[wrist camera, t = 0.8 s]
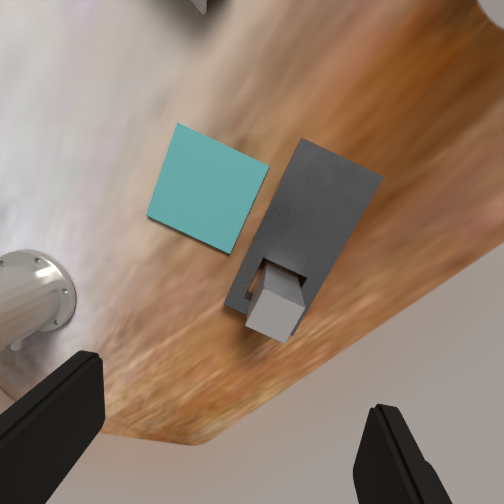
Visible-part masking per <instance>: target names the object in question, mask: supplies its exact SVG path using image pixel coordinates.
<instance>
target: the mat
mask: <svg viewBox="0 0 504 504" xmlns="http://www.w3.org/2000/svg"><path fill="white" fill-rule="evenodd" d="M268 169H269V166H268V165H266V164H263V163H261V162H259V161H257V160H255V159H253V158H251V157H249V156H247V155H244V154H242V153H240V152H238V151H236V150H234V149H232V148H230V147H228V146H226V145H223V144H221V143H219V142H217V141H215V140H213V139H211V138H209V137H207V136H204V135H202V134H200V133H198V132H196V131H194V130H192V129H190V128H188V127H185V126H183V125H181V124H179V123H177V125H176V128H175V131H174V134H173V137H172V140H171V143H170V146H169V149H168V152H167V155H166V158H165V161H164V164H163V167H162V170H161V172H160V175H159V178H158V181H157V184H156V187H155V190H154V193H153V196H152V199H151V202H150V205H149V208H148V211H147V214H146V215H147V216H149V217H151V218H153V219H156V220H158V221H160V222H162V223H164V224H166V225H169V226H171V227H173V228H175V229H177V230H179V231H181V232H184V233H186V234H188V235H190V236H192V237H194V238H197V239H199V240H201V241H203V242H205V243H207V244H210V245H212V246H214V247H216V248H218V249H220V250H222V251H225V252H227V253H229V254H230V253H231V251H232V249H233V247H234V244H235V242H236V240H237V238H238V235H239V233H240V231H241V229H242V227H243V224H244V222H245V220H246V218H247V215H248V213H249V211H250V209H251V206H252V204H253V202H254V200H255V198H256V195H257V193H258V191H259V189H260V186H261V184H262V182H263V180H264V178H265V175H266V173H267V171H268Z"/></svg>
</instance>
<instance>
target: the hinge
mask: <svg viewBox="0 0 504 504" xmlns="http://www.w3.org/2000/svg"><path fill="white" fill-rule="evenodd" d="M191 1H192V3H193V4H194V5H195V6H196V8H197V9H198V10H199V11H200V13H201V14H202V15H204V14H206V13H207V0H191Z"/></svg>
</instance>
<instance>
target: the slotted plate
mask: <svg viewBox="0 0 504 504" xmlns="http://www.w3.org/2000/svg"><path fill="white" fill-rule="evenodd" d="M383 178H384V177H383V176H381V175H379V174H376V173H374V172H372V171H370V170H368V169H366V168H364V167H362V166H360V165H358V164H356V163H354V162H351V161H349V160H347V159H345V158H343V157H341V156H339V155H337V154H335V153H333V152H331V151H328V150H326V149H324V148H322V147H320V146H318V145H316V144H314V143H312V142H310V141H308V140H306V139H303V138H301V139H300V141H299V143H298V145H297V148H296V150H295V152H294V154H293V156H292V158H291V160H290V163H289V165H288V167H287V169H286V171H285V173H284V175H283V177H282V180H281V182H280V184H279V186H278V188H277V190H276V192H275V195H274V197H273V199H272V201H271V203H270V205H269V207H268V210H267V212H266V214H265V216H264V218H263V220H262V222H261V225H260V227H259V229H258V231H257V233H256V235H255V237H254V239H253V242H252V244H251V246H250V248H249V250H248V252H247V254H246V257H245V259H244V261H243V263H242V265H241V267H240V269H239V272H238V274H237V276H236V278H235V280H234V282H233V284H232V286H231V289H230V291H229V293H228V295H227V297H226V299H225V302H224V305H226V306H228V307H230V308H233V309H235V310H237V311H239V312H241V313H244V314H246V315H248V310H249V306H250V301H251V297H252V293H250V292H248V291H247V290H248V288H249V286H250V284H251V282H252V280H253V278H254V275H255V273H256V271H257V269H258V267H259V265H260V263H261V261H262V259H263V257H264V258H266V259H268V260H270V261H272V262H274V263H276V264H279V265H281V266H283V267H285V268H287V269H289V270H292V271H294V272H296V273H298V274H300V275H302V276H303V277H302V278H301V280H300V282H299V284H300V288H301V292H302V296H303V300H304V305H305V309H304V311H303V313H302V315H301V316H300V318H299V320H298V322H297V323H296V325H295V327H294V329H293V330H292V332H291V334H290V335H292V336H293V335H294V333H295V331H296V329H297V328H298V326H299V324H300V322H301V321H302V319H303V317H304V315H305V314H306V312H307V310H308V308H309V307H310V305H311V303H312V301H313V300H314V298H315V296H316V295H317V293H318V291H319V289H320V288H321V286H322V284H323V282H324V281H325V279H326V277H327V275H328V274H329V272H330V270H331V268H332V267H333V265H334V263H335V261H336V260H337V258H338V256H339V254H340V253H341V251H342V249H343V247H344V246H345V244H346V242H347V240H348V239H349V237H350V235H351V234H352V232H353V230H354V228H355V227H356V225H357V223H358V221H359V220H360V218H361V216H362V214H363V213H364V211H365V209H366V207H367V206H368V204H369V202H370V200H371V199H372V197H373V195H374V193H375V192H376V190H377V188H378V186H379V185H380V183H381V181H382V180H383Z"/></svg>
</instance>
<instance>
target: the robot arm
mask: <svg viewBox="0 0 504 504" xmlns="http://www.w3.org/2000/svg"><path fill="white" fill-rule="evenodd" d="M75 303H76V296H75V290H74V287H73V284H72V281H71V279H70V278H69V276H68V274H67V273H66V272H65V270H64V269H63V268H62V267H61V266H60V265H59V264H58V263H57V262H56V261H55V260H53V259H52V258H50V257H49V256H47V255H45V254H43V253H40V252H37V251H32V250H18V251H14V252H10V253H8V254H5V255H3V256H2V257H0V351H3V350H5V349H6V348H7V347H8V345H9V344H11V346H10V349H11V350H12V351H18V350H21V349H22V347H23V343H24V338H26V337H27V336H29V335H31V334H32V333H34V332H48V331H52V330H54V329H56V328H58V327H60V326H61V325H63V324H64V323H66V322H67V321H68V320H69V319H70V317H71V315H72V314H73V312H74V308H75ZM104 421H105V402H104V381H103V361H102V359H101V358H99V355H98V353H94V352H88V351H83V350H82V351H79V352H77V353H76V354H74V355H73V356H72V357H71V358H69V359H68V360H67V361H66V362H65V363H63V364H62V365H61V366H60V367H58V368H57V369H56V370H55V371H54V372H52V373H51V374H50V375H49V376H47V377H46V378H45V379H44V380H42V381H41V382H40V383H39V384H38V385H36V386H35V387H34V388H33V389H31V390H30V391H29V392H28V393H26V394H25V395H24V396H23V397H22V398H20V399H19V400H18V401H17V402H15V403H14V404H13V405H12V406H10V407H9V408H8V409H7V410H6V411H4V412H3V413H2V414H1V415H0V504H45V503H46V502H47V501H48V499H49V498H50V497H51V495H52V494H53V493H54V491H55V490H56V488H57V487H58V486H59V484H60V483H61V482H62V481H63V479H64V478H65V477H66V475H67V474H68V472H69V471H70V470H71V468H72V467H73V466H74V464H75V463H76V462H77V460H78V459H79V458H80V456H81V455H82V454H83V452H84V451H85V450H86V448H87V447H88V446H89V444H90V443H91V442H92V440H93V439H94V437H95V436H96V435H97V434H98V432H99V431H100V430H101V428H102V426H103V424H104ZM353 480H354V485H355V489H356V493H357V497H358V502H359V504H452V502H451V500H450V498H449V496H448V494H447V492H446V490H445V489H444V487H443V485H442V483H441V481H440V479H439V477H438V475H437V473H436V472H435V470H434V469H433V467H432V465H430V464H429V463H428V462H427V461H425V459H424V457H423V455H422V453H421V451H420V450H419V447H418V445H417V443H416V442H415V440H414V438H413V436H412V434H411V432H410V430H409V428H408V426H407V424H406V422H405V420H404V418H403V417H402V414H401V413H400V411H399V409H398V408H397V407H393V406H388V405H383V404H377V405H376V407H375V408H371V409H370V411H369V414H368V418H367V422H366V425H365V429H364V432H363V435H362V439H361V442H360V446H359V449H358V453H357V456H356V460H355V464H354V467H353Z"/></svg>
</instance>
